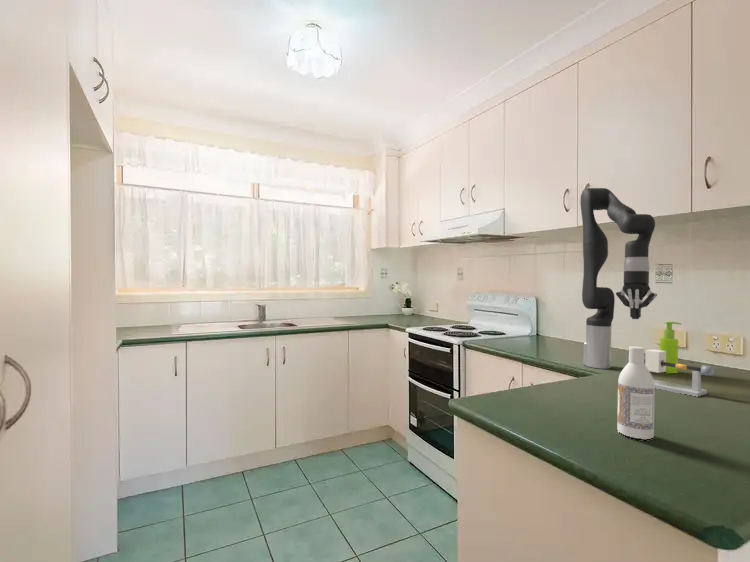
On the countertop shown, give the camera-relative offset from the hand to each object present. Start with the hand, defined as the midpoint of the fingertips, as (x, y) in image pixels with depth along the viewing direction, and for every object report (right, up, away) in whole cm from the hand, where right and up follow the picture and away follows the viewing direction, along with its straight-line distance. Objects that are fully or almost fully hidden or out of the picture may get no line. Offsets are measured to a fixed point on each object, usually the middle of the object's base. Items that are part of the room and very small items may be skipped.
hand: (635, 318), depth 142 cm
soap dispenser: (+25, -23, +17) cm, 38 cm away
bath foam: (-34, -22, -51) cm, 65 cm away
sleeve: (+3, -17, -5) cm, 18 cm away
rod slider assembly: (+5, -22, -9) cm, 25 cm away
